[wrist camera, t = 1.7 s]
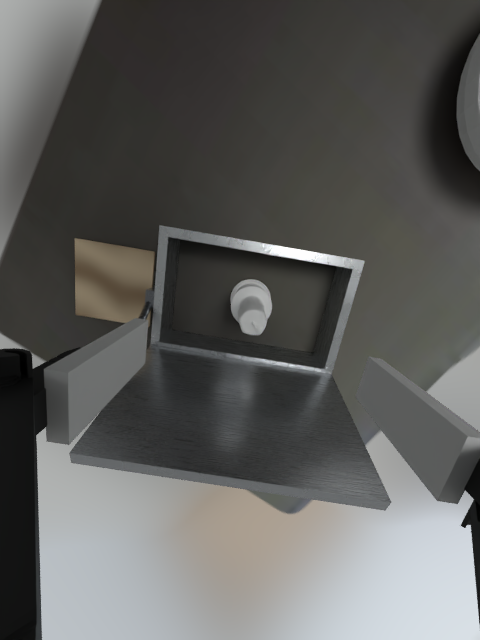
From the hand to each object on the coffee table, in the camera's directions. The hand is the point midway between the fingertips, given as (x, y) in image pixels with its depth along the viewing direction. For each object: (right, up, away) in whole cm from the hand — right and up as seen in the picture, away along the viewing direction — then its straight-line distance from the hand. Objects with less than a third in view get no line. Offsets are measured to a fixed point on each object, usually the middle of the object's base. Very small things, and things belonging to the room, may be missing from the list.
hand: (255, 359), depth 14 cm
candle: (+1, +5, +18) cm, 19 cm away
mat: (-17, +7, +18) cm, 26 cm away
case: (0, +4, +18) cm, 19 cm away
